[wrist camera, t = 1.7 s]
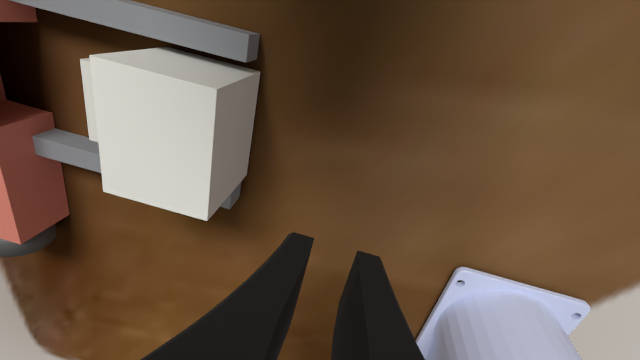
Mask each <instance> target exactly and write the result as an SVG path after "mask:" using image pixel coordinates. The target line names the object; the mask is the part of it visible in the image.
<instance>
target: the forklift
mask: <svg viewBox="0 0 640 360" xmlns="http://www.w3.org/2000/svg"><path fill="white" fill-rule="evenodd" d="M35 7H36V8H40V9H44V10H48V11H52V12H55V13H59V14H63V15H67V16H70V17H74V18H78V19H82V20H86V21H89V22H93V23H97V24H101V25H105V26H108V27H112V28H116V29H120V30H124V31H127V32H131V33H135V34H139V35H143V36H146V37H150V38H154V39H158V40H162V41H165V42H169V43H173V44H177V45H181V46H184V47H188V48H192V49H196V50H200V51H203V52H207V53H211V54H215V55H219V56H222V57H226V58H230V59H234V60H238V61H241V62H245V63H247V62H250V61H254V60H257V54H258V46H259V38H260V34H259V33H255V32H251V31H247V30H243V29H239V28H235V27H232V26H228V25H224V24H220V23H216V22H212V21H208V20H205V19H201V18H197V17H193V16H189V15H185V14H181V13H178V12H174V11H170V10H166V9H162V8H158V7H154V6H151V5H147V4H143V3H139V2H135V1H131V0H0V22H37V16H36V10H35ZM61 162H64V163H67V164H71V165H74V166H78V167H81V168H85V169H88V170H92V171H96V172H99V173H101V164H100V155H99V145H98V142H95V141H92V140H89V138H88V137H85V136H81V135H78V134H74V133H70V132H67V131H63V130H60V129H56V128H55V124H54V118H53V113H52V112H48V111H45V110H41V109H38V108H34V107H30V106H27V105H23V104H19V103H16V102H12V101H9V100H6V96H5V92H4V87H3V83H2V79H1V74H0V256H2V257H14V256H21V255H26V254H30V253H33V252H36V251H38V250H40V249H42V248H44V247H46V246H47V245H49V244H50V243H51V242H52V241H53V240H54V239H55V237H56V235H57V231H56V226H55V223H57V222H58V221H60V220H61V219H63V218H65V217H66V216H68V215H69V208H68V202H67V196H66V190H65V184H64V178H63V172H62V166H61ZM240 189H241V182H240V183H239V185H238V186H237V187H236V188H235V189H234V190H233V192H232V193H231V194H230V195H229V196H228V197H227V199H226V200H225V201H224V202H223V203H222V204H221V206H220V207H223V208H226V209H230V208H231V207H232V206H233V205H234V203H235V202H236V201H237V200H238V198H239V197H240Z"/></svg>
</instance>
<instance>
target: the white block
mask: <svg viewBox="0 0 640 360" xmlns="http://www.w3.org/2000/svg"><path fill="white" fill-rule="evenodd" d="M80 64H81V73H82V81H83V90H84V98H85V107H86V115H87V124H88V132H89V140H92V141H95V142H98V145H99V155H100V164H101V174H102V183H103V192H107V193H110V194H114V195H117V196H121V197H124V198H128V199H131V200H135V201H138V202H142V203H145V204H149V205H152V206H156V207H159V208H163V209H166V210H170V211H173V212H177V213H180V214H184V215H187V216H191V217H194V218H198V219H201V220H205V221H208V220H209V218H210V217H211V216H212V215H213V214H214V213H215V211H216V210H217V209H218V208H219V207H220V206H221V204H222V203H223V202H224V201H225V200H226V199H227V197H228V196H229V195H230V194H231V193H232V192H233V190H234V189H235V188H236V187H237V186H238V185H239V183H240V182H241V181H242V180H243V179H244V178H245V176H246V175H247V170H248V162H249V155H250V147H251V140H252V132H253V124H254V117H255V109H256V102H257V94H258V87H259V79H260V72H261V71H257V70H253V69H249V68H245V67H242V66H238V65H234V64H230V63H227V62H223V61H219V60H215V59H211V58H208V57H204V56H200V55H196V54H192V53H189V52H185V51H181V50H177V49H174V48H170V47H160V48H151V49H141V50H132V51H123V52H113V53H104V54H95V55H89V58H85V59H80Z"/></svg>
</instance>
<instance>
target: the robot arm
mask: <svg viewBox="0 0 640 360" xmlns="http://www.w3.org/2000/svg"><path fill="white" fill-rule="evenodd" d="M313 240H314V238H311V237H308V236H304V235H301V234H297V233H294V232H293V233H290V234H288V236H287V237H286V239H285V240H284V241H283V243H282V244H281V245H280V246H279V247H278V249H277V250H276V251H275V252H274V253H273V254H272V255H271V256H270V257H269V258H268V260H267V261H266V262H265V263H264V264H263V265H262V266H260V267H259V268H258V269H257V270H256V271H255V272H254V273H253V274H252V275H251V276H250V277H249V278H248V279H247V280H246V281H245V282H244V283H243V284H242V285H240V286H239V287H238V288H237V289H236V290H235V291H233V292H232V293H231V294H230V295H229V296H228V297H226V298H225V299H224V300H223V301H222V302H221V303H219V304H218V305H217V306H216V307H214V308H213V309H212V310H211V311H209V312H208V313H207V314H205V315H204V316H203V317H201V318H200V319H199V320H197V321H196V322H195V323H193V324H192V325H191V326H189V327H188V328H187V329H185V330H184V331H182V332H181V333H180V334H178V335H177V336H175V337H174V338H172V339H171V340H169V341H168V342H166V343H165V344H163V345H162V346H160V347H159V348H157V349H156V350H154V351H153V352H151V353H150V354H148V355H147V356H145V357H144V358H142V359H141V360H277V358H278V355H279V353H280V350H281V348H282V345H283V342H284V340H285V337H286V335H287V332H288V329H289V327H290V324H291V320H292V317H293V313H294V310H295V306H296V303H297V299H298V296H299V292H300V288H301V285H302V281H303V277H304V274H305V270H306V266H307V263H308V259H309V255H310V251H311V248H312V244H313ZM459 280H463V281H462V282H457V281H459ZM589 312H590V307H589V305H588V304H587V303H586V302H585V301H583V300H580V299H577V298H573V297H570V296H566V295H562V294H559V293H555V292H552V291H548V290H545V289H541V288H538V287H534V286H531V285H527V284H523V283H520V282H516V281H513V280H509V279H506V278H502V277H499V276H495V275H491V274H488V273H484V272H481V271H477V270H474V269H470V268H467V267H459V268H457V269H456V270H455V271H454V273H453V274H452V276H451V278H450V280H449V282H448V283H447V285H446V287H445V289H444V291H443V292H442V294H441V296H440V298H439V300H438V301H437V303H436V305H435V307H434V308H433V310H432V312H431V314H430V316H429V317H428V319H427V321H426V323H425V325H424V326H423V328H422V330H421V332H420V333H419V335H418V337H417V339H416V341H415V339H414V337H413V335H412V333H411V331H410V328H409V326H408V324H407V322H406V320H405V318H404V315H403V313H402V311H401V309H400V307H399V304H398V302H397V300H396V297H395V295H394V292H393V290H392V287H391V285H390V282H389V280H388V277H387V274H386V272H385V269H384V266H383V264H382V261H381V259H380V257H379V256H375V255H372V254H368V253H364V252H361V251H357V254H356V256H355V259H354V262H353V265H352V268H351V270H350V273H349V276H348V279H347V282H346V284H345V287H344V290H343V293H342V296H341V298H340V301H339V306H338V311H337V317H336V322H335V328H334V334H333V343H332V357H331V360H582V358H581V357H580V355H579V354H578V352H577V350H576V349H575V347H574V345H573V344H572V342H571V341H570V339H569V337H568V336H569V334H570V333H571V332H572V331H573V330H574V329H575V328H576V327H577V325H578V324H579V323H580V322H581V321H582V320H583V319H584V318H585V316H586V315H587V314H588V313H589Z"/></svg>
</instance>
